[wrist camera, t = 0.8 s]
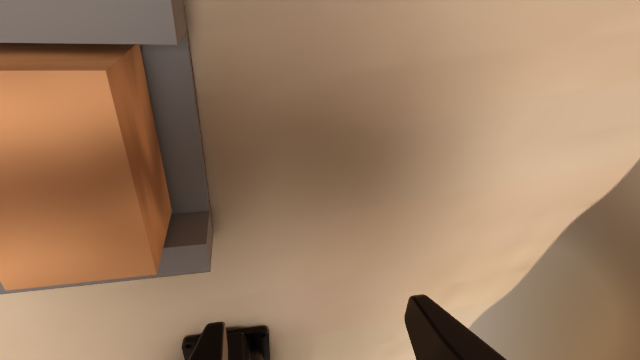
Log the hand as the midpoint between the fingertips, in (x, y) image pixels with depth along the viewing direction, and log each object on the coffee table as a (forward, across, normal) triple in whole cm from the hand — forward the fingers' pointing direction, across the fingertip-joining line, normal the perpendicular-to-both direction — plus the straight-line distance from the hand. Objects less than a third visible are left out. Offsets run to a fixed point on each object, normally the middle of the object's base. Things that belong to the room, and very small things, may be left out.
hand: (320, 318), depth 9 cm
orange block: (+13, +9, 0) cm, 16 cm away
